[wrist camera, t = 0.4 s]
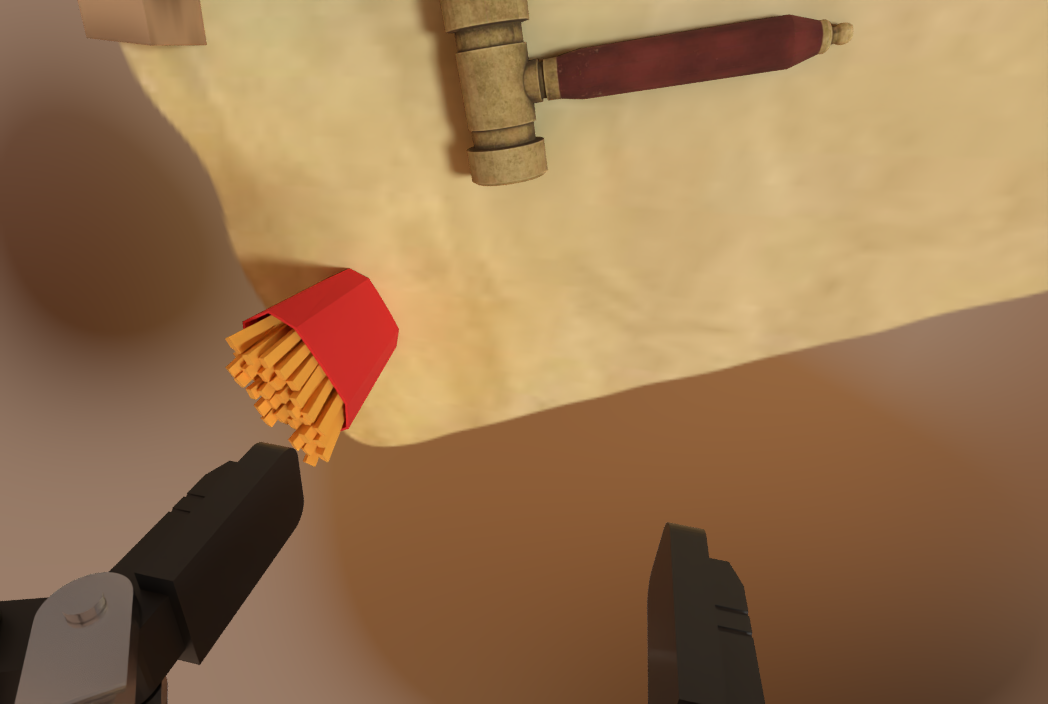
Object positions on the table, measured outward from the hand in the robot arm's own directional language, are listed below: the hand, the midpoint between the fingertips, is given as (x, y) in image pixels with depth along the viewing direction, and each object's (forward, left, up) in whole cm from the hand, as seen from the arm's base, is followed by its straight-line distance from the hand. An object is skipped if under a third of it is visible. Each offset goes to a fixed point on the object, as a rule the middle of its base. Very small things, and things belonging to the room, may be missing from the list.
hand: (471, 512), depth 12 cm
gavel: (-8, +2, -29) cm, 30 cm away
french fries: (+11, -15, -28) cm, 34 cm away
